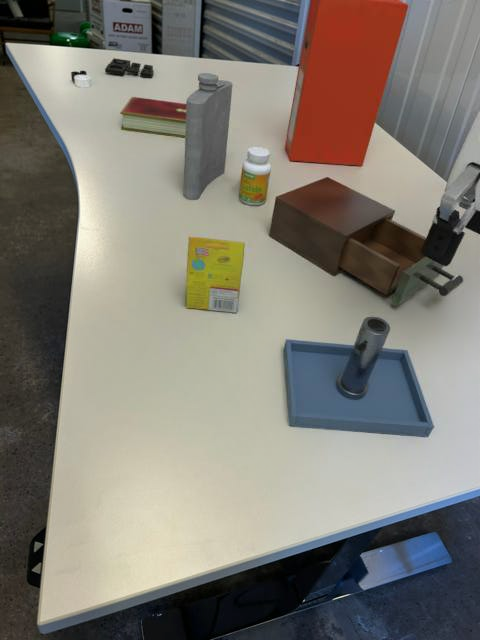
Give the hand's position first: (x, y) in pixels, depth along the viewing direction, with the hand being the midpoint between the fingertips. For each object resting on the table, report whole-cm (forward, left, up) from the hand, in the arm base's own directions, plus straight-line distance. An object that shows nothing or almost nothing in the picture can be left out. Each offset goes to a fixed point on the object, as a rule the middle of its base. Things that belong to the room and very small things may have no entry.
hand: (455, 244), depth 53 cm
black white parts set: (+60, -106, -18) cm, 123 cm away
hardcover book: (+40, -73, -18) cm, 86 cm away
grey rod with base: (+8, +7, -18) cm, 20 cm away
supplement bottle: (+20, -40, -18) cm, 48 cm away
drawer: (-3, -17, -17) cm, 25 cm away
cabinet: (+7, -27, -18) cm, 33 cm away
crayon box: (+26, -7, -18) cm, 33 cm away
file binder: (+3, -65, -18) cm, 68 cm away
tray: (+8, +7, -18) cm, 21 cm away
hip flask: (+30, -45, -18) cm, 57 cm away
